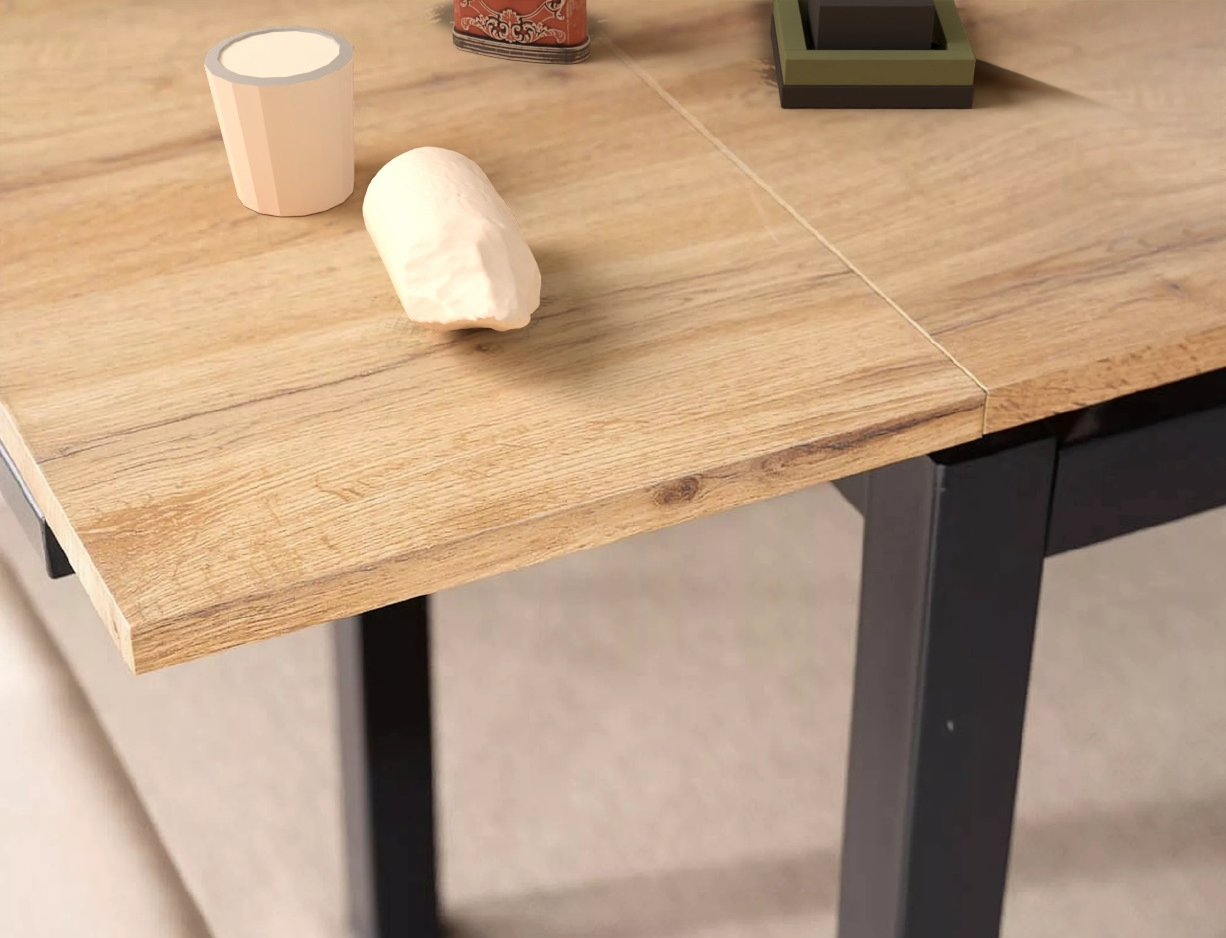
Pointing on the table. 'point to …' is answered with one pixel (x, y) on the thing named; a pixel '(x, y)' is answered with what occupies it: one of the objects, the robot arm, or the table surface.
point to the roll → (450, 243)
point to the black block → (870, 24)
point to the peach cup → (286, 117)
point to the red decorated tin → (523, 29)
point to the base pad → (872, 67)
